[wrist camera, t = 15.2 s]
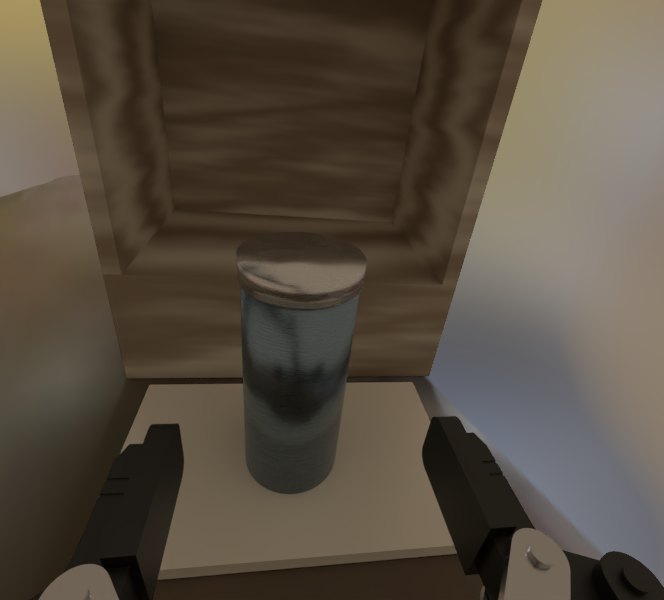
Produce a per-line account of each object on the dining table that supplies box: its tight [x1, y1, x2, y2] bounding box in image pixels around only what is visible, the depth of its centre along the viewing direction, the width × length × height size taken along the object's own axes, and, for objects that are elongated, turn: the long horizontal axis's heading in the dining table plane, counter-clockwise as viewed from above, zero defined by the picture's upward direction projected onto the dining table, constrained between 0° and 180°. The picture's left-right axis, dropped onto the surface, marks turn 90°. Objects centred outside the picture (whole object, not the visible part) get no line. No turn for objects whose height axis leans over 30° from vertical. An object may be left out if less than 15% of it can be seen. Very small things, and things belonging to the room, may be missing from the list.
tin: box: [236, 232, 367, 494], centre depth 18 cm, size 5×5×12 cm
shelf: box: [40, 0, 542, 378], centre depth 26 cm, size 15×23×27 cm, turn 97°
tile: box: [120, 382, 457, 580], centre depth 21 cm, size 11×18×1 cm, turn 97°
